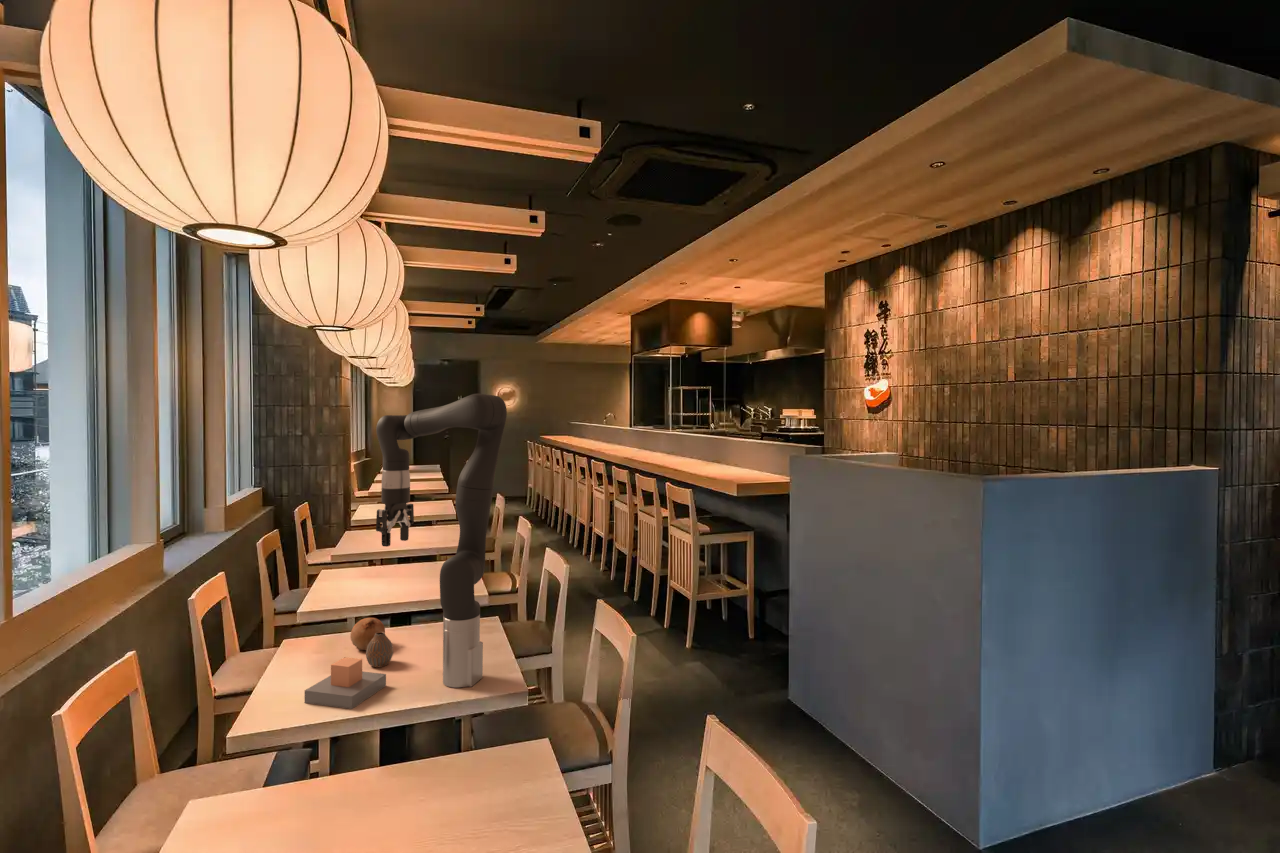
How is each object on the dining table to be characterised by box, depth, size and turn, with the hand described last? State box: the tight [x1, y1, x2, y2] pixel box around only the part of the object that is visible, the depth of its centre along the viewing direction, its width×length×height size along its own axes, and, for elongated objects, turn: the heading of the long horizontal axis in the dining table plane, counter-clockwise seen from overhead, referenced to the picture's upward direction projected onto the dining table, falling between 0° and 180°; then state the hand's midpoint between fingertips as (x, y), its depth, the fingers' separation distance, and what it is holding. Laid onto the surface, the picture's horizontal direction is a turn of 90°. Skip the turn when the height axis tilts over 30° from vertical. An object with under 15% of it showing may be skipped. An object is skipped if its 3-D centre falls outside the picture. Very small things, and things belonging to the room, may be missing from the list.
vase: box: [365, 632, 394, 668], centre depth 171 cm, size 7×7×9 cm
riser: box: [304, 670, 387, 710], centre depth 153 cm, size 13×13×3 cm
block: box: [330, 656, 363, 687], centre depth 153 cm, size 5×5×5 cm
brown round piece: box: [350, 617, 386, 651], centre depth 184 cm, size 10×9×10 cm
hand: (395, 543), depth 175 cm, fingers open, 8 cm apart
